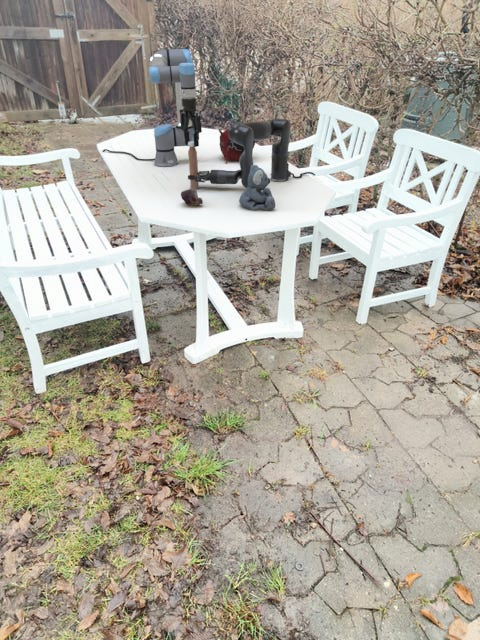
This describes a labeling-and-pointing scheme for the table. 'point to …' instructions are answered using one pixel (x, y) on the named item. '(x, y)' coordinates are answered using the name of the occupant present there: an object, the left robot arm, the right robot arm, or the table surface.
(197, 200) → the rock
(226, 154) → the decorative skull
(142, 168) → the table surface
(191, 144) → the cap
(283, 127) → the right robot arm
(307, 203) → the table surface
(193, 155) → the bottle
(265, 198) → the koala plush
